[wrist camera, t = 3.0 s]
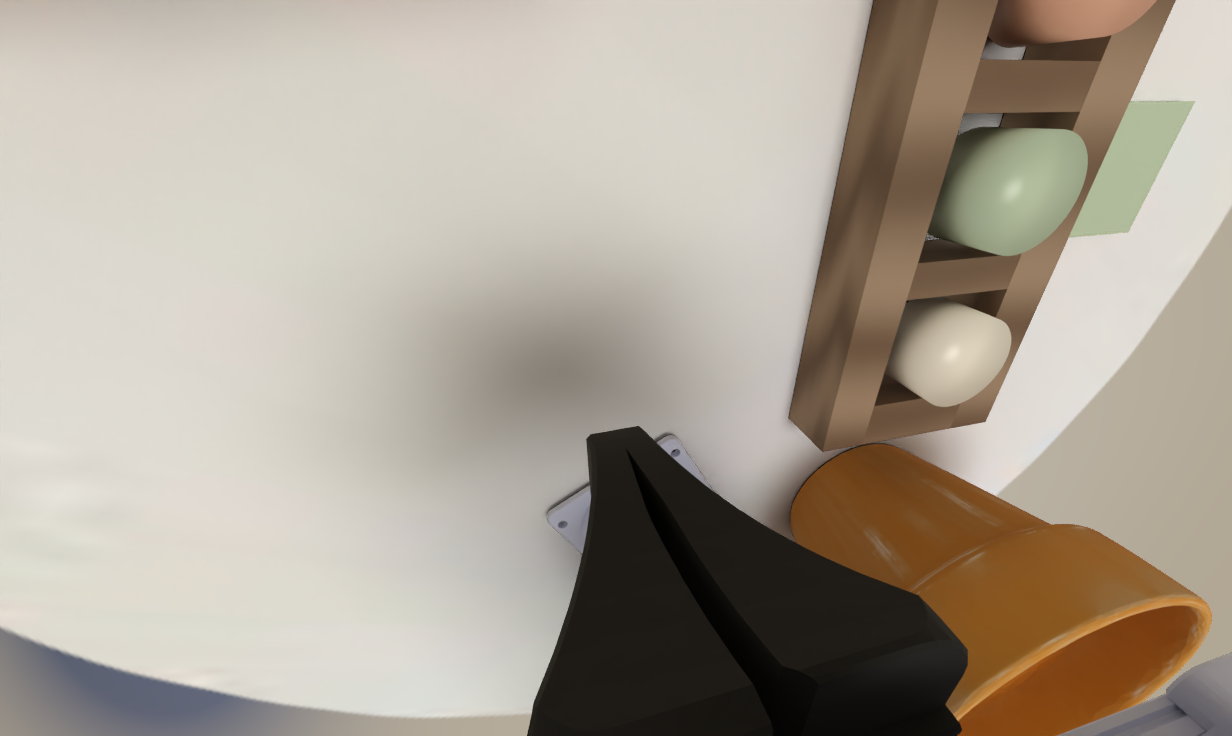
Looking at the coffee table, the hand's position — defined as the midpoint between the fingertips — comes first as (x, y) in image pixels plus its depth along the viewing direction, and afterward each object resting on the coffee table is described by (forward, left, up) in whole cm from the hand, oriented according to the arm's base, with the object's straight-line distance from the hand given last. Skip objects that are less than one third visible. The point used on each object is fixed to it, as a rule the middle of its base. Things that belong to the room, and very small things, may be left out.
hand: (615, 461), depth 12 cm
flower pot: (-21, -8, -10) cm, 25 cm away
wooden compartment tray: (-4, -17, -9) cm, 20 cm away
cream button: (-10, -14, -8) cm, 19 cm away
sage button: (-4, -17, -8) cm, 19 cm away
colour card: (-9, -26, -9) cm, 29 cm away
